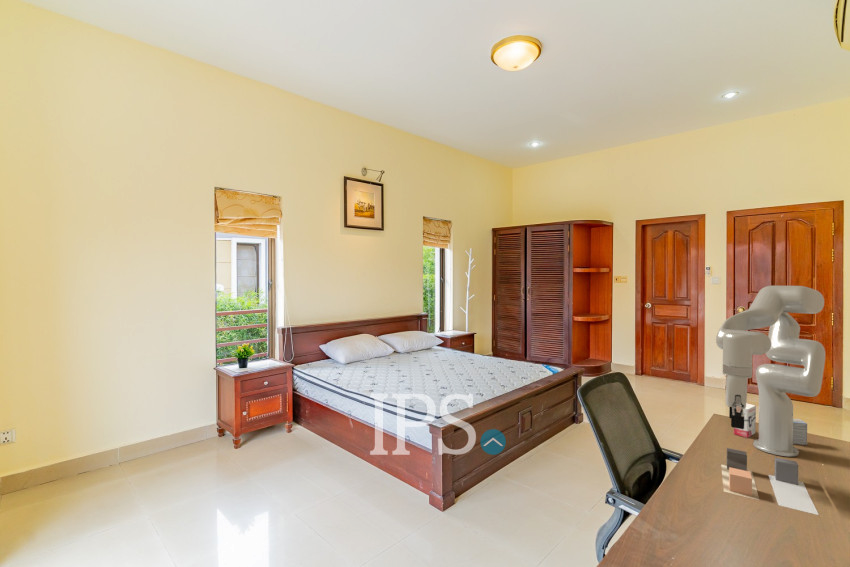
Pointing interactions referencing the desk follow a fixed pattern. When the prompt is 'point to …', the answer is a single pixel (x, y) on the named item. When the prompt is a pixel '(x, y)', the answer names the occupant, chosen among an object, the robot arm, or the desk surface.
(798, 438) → the medicine box
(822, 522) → the desk surface
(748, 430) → the ink box
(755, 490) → the cube strip
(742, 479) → the cube
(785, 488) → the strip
